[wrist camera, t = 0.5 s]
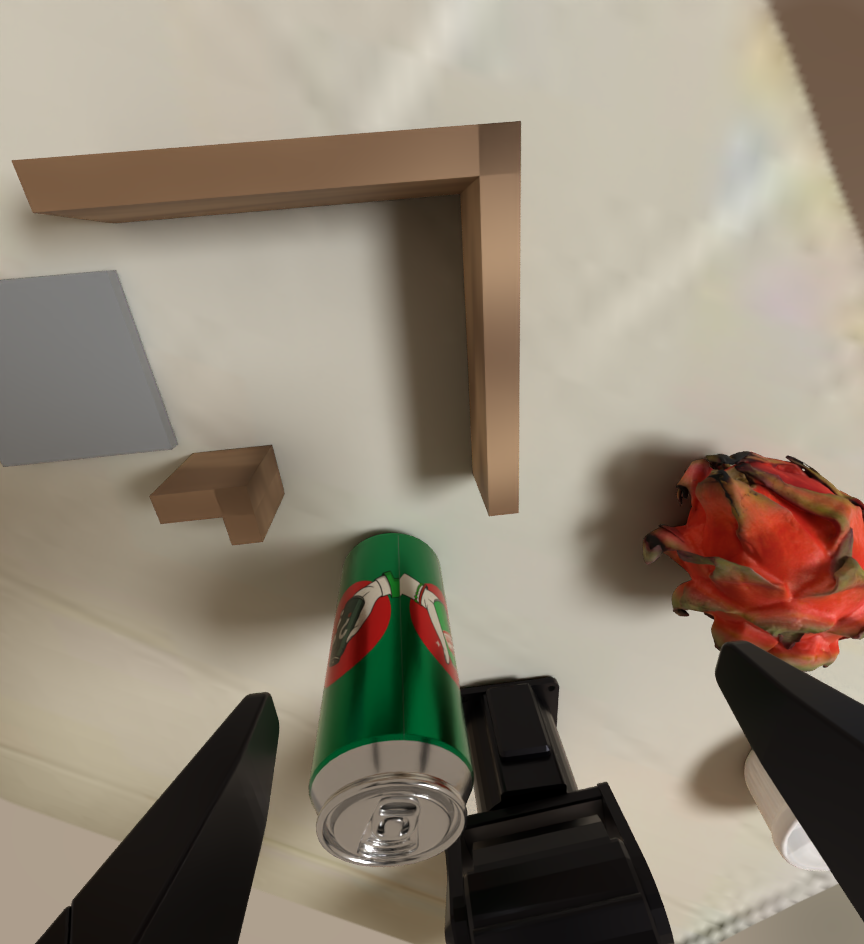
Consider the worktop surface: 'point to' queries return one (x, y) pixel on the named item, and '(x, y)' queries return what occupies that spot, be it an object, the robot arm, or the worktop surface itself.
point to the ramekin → (781, 819)
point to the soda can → (391, 713)
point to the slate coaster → (74, 373)
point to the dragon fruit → (768, 556)
